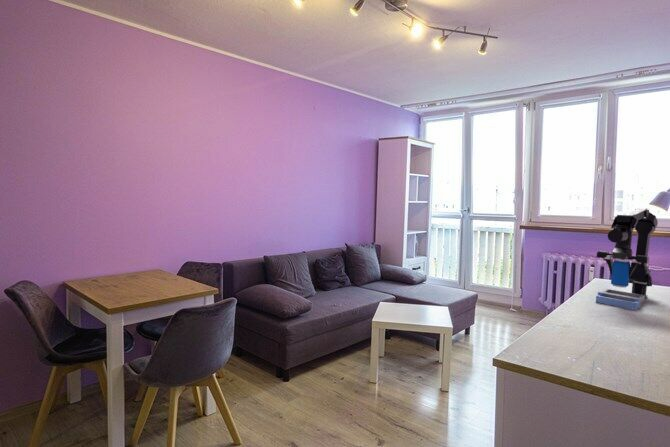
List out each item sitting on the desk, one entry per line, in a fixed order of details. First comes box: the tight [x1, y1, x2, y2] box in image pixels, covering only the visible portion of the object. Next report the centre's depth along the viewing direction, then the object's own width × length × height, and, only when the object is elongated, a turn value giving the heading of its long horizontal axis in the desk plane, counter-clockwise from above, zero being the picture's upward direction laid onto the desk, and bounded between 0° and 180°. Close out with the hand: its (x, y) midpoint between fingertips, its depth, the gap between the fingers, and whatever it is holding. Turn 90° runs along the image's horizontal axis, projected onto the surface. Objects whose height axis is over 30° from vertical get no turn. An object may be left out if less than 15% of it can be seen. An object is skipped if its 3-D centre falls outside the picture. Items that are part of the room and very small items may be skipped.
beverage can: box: [610, 258, 631, 289], centre depth 176 cm, size 6×6×12 cm
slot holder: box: [595, 288, 646, 311], centre depth 181 cm, size 21×15×4 cm
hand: (620, 275), depth 177 cm, fingers closed on beverage can, 6 cm apart
